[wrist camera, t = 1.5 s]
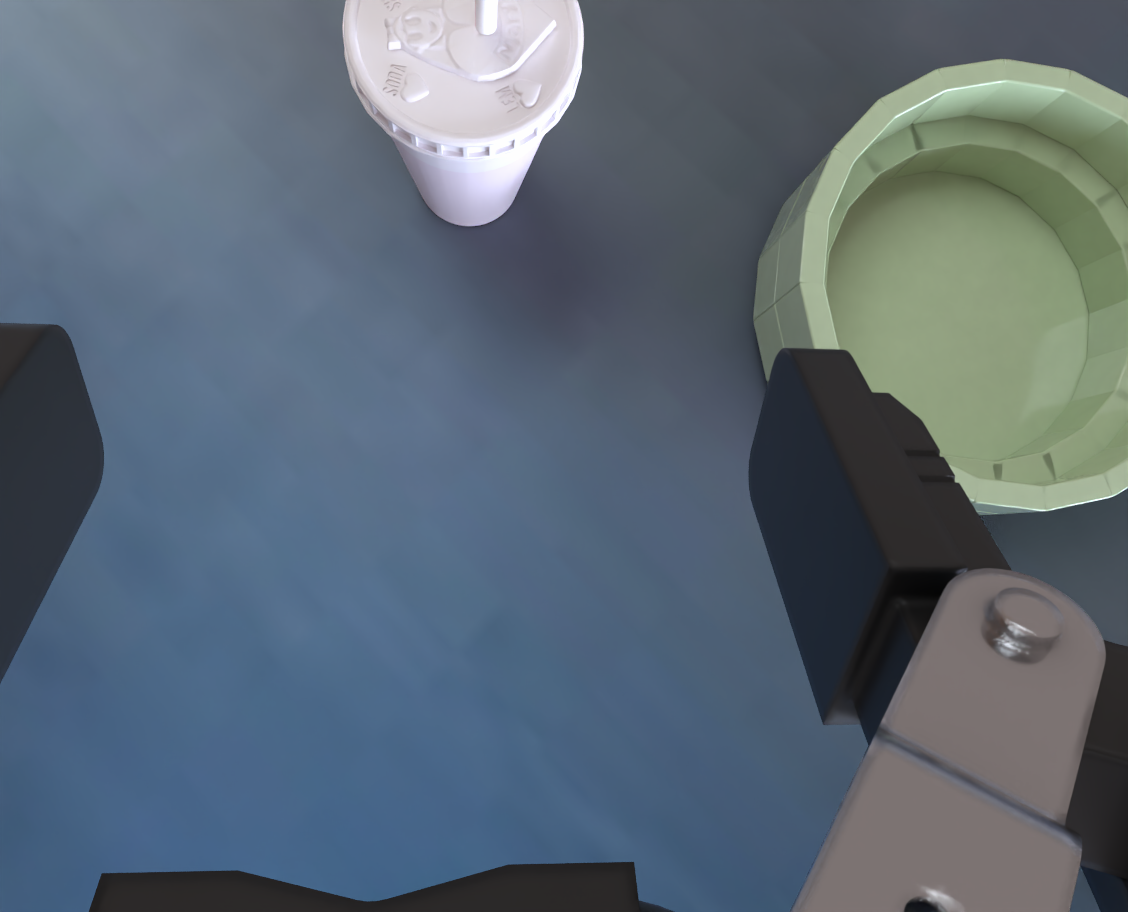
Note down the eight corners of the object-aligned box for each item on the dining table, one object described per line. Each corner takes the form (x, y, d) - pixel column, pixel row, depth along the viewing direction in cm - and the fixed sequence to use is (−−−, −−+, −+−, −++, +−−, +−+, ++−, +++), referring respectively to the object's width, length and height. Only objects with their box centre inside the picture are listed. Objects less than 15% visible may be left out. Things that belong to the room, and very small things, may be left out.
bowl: (678, 241, 34) (716, 183, 29) (996, 73, 36) (1089, -12, 30) (876, 587, 33) (954, 595, 28) (1189, 397, 35) (1319, 370, 30)
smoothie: (565, 255, 34) (627, 49, 20) (388, 270, 33) (323, 69, 19) (544, 87, 34) (591, -228, 20) (370, 99, 33) (294, -219, 20)
